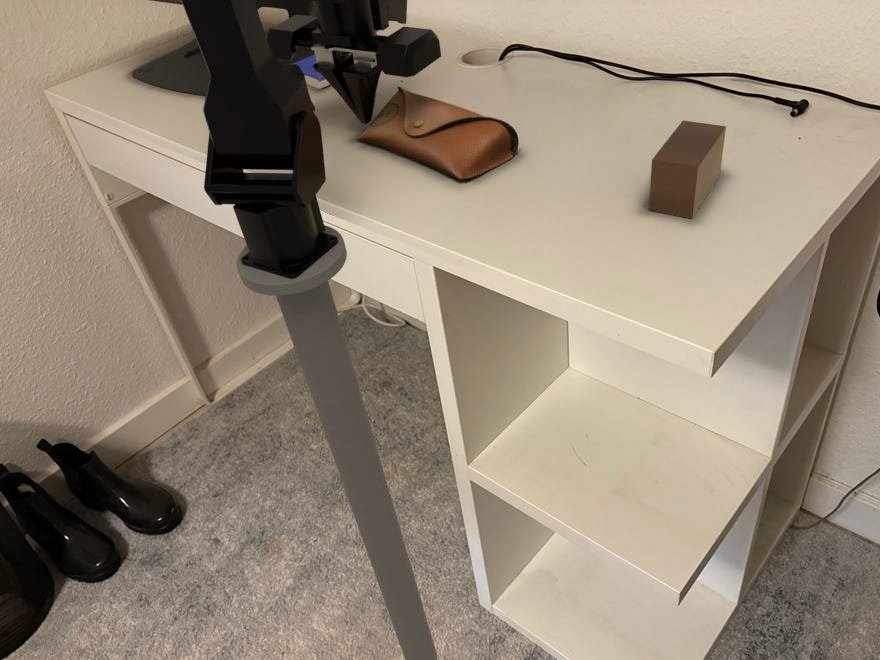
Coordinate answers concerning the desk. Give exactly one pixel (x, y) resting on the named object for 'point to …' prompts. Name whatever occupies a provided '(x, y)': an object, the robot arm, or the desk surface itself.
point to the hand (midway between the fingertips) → (366, 122)
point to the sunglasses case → (442, 135)
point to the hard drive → (312, 72)
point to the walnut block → (686, 168)
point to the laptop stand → (189, 66)
